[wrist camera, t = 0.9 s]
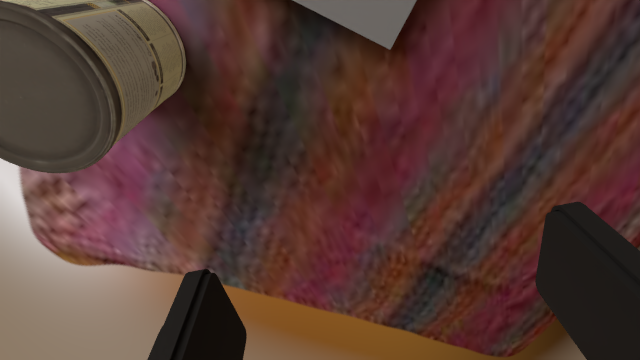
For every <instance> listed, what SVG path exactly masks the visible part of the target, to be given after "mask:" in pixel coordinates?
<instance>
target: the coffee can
mask: <svg viewBox="0 0 640 360" xmlns="http://www.w3.org/2000/svg"><path fill="white" fill-rule="evenodd" d="M185 69H186V57H185V51H184V47H183V44H182V41H181V38H180V36H179V34H178V32H177V30H176V29H175V27H174V26H173V24H172V23H171V21H170V20H169V18H168V17H167V16H166V15H165V14H163V12H162V11H161V10H160V9H158V8H157V7H156V6H155V5H153V4H152V3H151V2H149V1H148V0H6V1H0V158H1V159H3V160H6V161H8V162H10V163H13V164H15V165H18V166H21V167H24V168H27V169H31V170H35V171H39V172H47V173H69V172H75V171H79V170H82V169H85V168H87V167H89V166H91V165H93V164H95V163H96V162H98V161H99V160H100V159H101V158H102V157H103V156H104V155H105V154H106V153H107V152H108V151H109V150H110V149H111V148H112V146H113V145H114V144H115V143H116V142H118V141H119V140H120V139H121V138H122V137H123V136H125V135H126V134H127V133H128V132H129V131H130V130H131V129H133V128H134V127H135V126H136V125H137V124H138V123H139V122H141V121H142V120H143V119H144V118H145V117H146V116H147V115H149V114H150V113H151V112H152V111H153V110H154V109H155V108H156V107H158V106H159V105H160V104H161V103H162V102H163V101H164V100H166V99H167V98H169V97H170V96H172V95H173V94H174V93H175V92H176V91H177V89H178V88H179V86H180V85H181V83H182V81H183V78H184V74H185Z"/></svg>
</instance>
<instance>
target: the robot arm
mask: <svg viewBox="0 0 640 360" xmlns="http://www.w3.org/2000/svg"><path fill="white" fill-rule="evenodd" d="M536 286H537V289H538V292H539V293H540V295H541V296H542V298H543V299H544V300H545V302H546V303H547V305H548V306H549V307H550V309H551V310H552V312H553V313H554V314H555V316H556V317H557V319H558V320H559V321H560V323H561V324H562V326H563V327H564V328H565V330H566V331H567V333H568V334H569V335H570V337H571V338H572V339H573V341H574V342H575V344H576V345H577V346H578V348H579V349H580V351H581V352H582V353H583V355H584V356H585V358H586V359H587V360H640V251H639V250H638V249H637V248H636V247H634V246H633V245H632V244H631V243H630V242H628V241H627V240H626V239H625V238H624V237H622V236H621V235H620V234H619V233H618V232H617V231H615V230H614V229H613V228H612V227H611V226H609V225H608V224H607V223H606V222H605V221H603V220H602V219H601V218H600V217H599V216H597V215H596V214H595V213H594V212H593V211H591V210H590V209H589V208H588V207H587V206H586V205H584V204H583V203H581V202H574V203H569V204H563V205H558V206H554V207H553V208H552V210H551V212H550V213H547V215H546V218H545V224H544V231H543V237H542V243H541V249H540V256H539V262H538V268H537V274H536ZM245 344H246V329H245V327H244V325H243V323H242V321H241V319H240V318H239V316H238V314H237V312H236V310H235V308H234V306H233V305H232V303H231V301H230V299H229V297H228V295H227V293H226V292H225V290H224V288H223V286H222V284H221V282H220V280H219V279H218V277H217V275H216V274H215V273H211V272H210V271H209V270H208V269H204V270H198V271H193V272H188V273H186V274H185V276H184V278H183V281H182V283H181V285H180V288H179V290H178V292H177V295H176V297H175V299H174V302H173V304H172V306H171V309H170V311H169V314H168V316H167V318H166V321H165V323H164V325H163V327H162V328H161V330H160V332H159V334H158V336H157V339H156V341H155V343H154V346H153V348H152V350H151V353H150V355H149V357H148V360H243V355H244V350H245Z"/></svg>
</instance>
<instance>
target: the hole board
mask: <svg viewBox="0 0 640 360" xmlns="http://www.w3.org/2000/svg"><path fill="white" fill-rule="evenodd" d="M293 1H295V2H297V3H299V4H301V5H303V6H305V7H307V8H309V9H311V10H313V11H315V12H317V13H319V14H321V15H323V16H325V17H327V18H329V19H331V20H332V21H334V22H336V23H338V24H340V25H342V26H344V27H346V28H348V29H350V30H352V31H354V32H356V33H358V34H360V35H362V36H364V37H366V38H368V39H370V40H372V41H374V42H376V43H378V44H380V45H382V46H384V47H386V48H388V49H391V47H392V46H393V44H394V42H395V40H396V38H397V36H398V34H399V32H400V31H401V29H402V27H403V25H404V23H405V21H406V19H407V18H408V16H409V14H410V12H411V10H412V8H413V6H414V4H415V3H416V1H417V0H293Z"/></svg>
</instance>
